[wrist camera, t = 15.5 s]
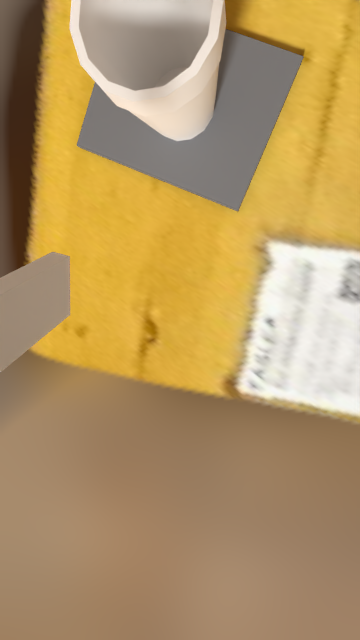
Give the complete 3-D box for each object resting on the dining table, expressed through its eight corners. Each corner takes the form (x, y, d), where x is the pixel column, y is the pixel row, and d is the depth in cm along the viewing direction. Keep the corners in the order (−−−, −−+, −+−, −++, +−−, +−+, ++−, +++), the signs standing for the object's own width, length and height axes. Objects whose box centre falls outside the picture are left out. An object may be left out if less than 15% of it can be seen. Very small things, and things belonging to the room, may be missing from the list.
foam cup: (123, 73, 33) (49, -37, 21) (215, 31, 31) (195, -120, 18) (152, 172, 34) (99, 125, 22) (242, 138, 32) (241, 64, 20)
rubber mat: (301, 61, 31) (303, 56, 30) (238, 211, 34) (237, 210, 34) (124, -2, 33) (121, -8, 32) (80, 147, 36) (76, 145, 35)
